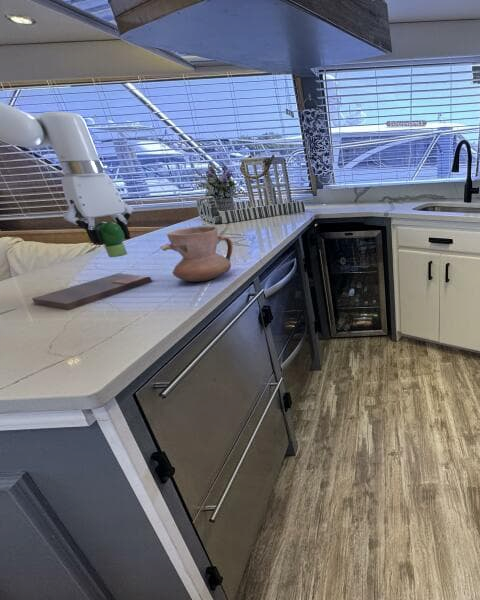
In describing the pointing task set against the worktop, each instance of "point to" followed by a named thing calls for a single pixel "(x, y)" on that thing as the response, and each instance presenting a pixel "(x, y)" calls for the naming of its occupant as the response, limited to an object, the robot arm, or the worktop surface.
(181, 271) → the ceramic jug
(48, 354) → the worktop surface
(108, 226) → the broccoli
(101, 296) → the cutting board
